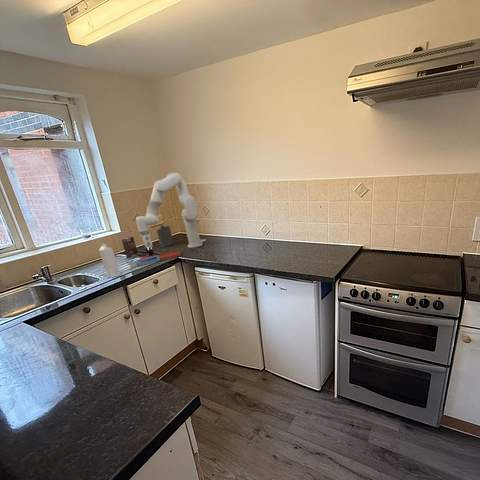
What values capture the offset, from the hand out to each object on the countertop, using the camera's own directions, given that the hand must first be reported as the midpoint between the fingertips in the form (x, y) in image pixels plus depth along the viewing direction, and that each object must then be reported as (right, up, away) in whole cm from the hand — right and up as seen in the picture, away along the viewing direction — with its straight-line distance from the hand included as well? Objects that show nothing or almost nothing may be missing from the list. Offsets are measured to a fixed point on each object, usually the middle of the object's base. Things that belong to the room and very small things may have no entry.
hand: (150, 254), depth 233 cm
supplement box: (-16, -2, +6) cm, 18 cm away
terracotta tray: (+17, -2, -4) cm, 17 cm away
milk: (-10, -17, -33) cm, 39 cm away
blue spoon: (+4, -6, -11) cm, 13 cm away
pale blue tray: (+3, -6, -11) cm, 13 cm away
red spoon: (-2, -3, 0) cm, 3 cm away
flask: (+2, +10, +30) cm, 32 cm away
